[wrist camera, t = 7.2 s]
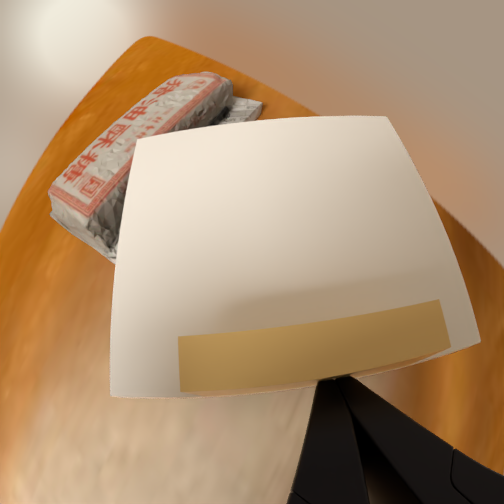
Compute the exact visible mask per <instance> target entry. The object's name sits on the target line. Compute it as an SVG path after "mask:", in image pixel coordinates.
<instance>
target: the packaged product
mask: <svg viewBox="0 0 504 504" xmlns="http://www.w3.org/2000/svg"><path fill="white" fill-rule="evenodd" d="M262 104H263V103H262V102H258V101H254V100H250V99H244V98H239V97H235V96H233V84H232V82H231V80H228V79H226V78H224V77H221V76H219V75H218V74H215V73H212V72H201V73H193V74H188V75H187V74H186V75H184V74H183V75H179V76H175V77H172V78H170V79H168V80H167V81H166V82H165V83H163V84H162V85H160V86H159V87H157V88H156V89H155V90H153V91H152V92H151V93H150V94H149V95H148V96H146V97H145V98H143V99H142V100H141V101H140V102H138V103H137V104H136V105H135V106H133V107H132V108H131V109H130V110H129V111H127V112H126V113H125V114H124V115H123V116H122V117H120V118H119V119H118V120H117V121H116V122H114V123H113V124H112V125H111V126H110V127H109V128H108V129H107V130H106V131H105V132H103V133H102V134H101V135H100V136H99V137H98V138H97V139H96V140H95V141H93V142H92V144H90V145H89V146H88V147H87V148H86V149H85V150H84V151H83V152H82V153H81V154H80V155H79V157H78V158H76V159H75V160H74V161H73V162H72V163H71V164H70V165H69V167H68V168H67V169H66V170H64V172H63V173H62V174H61V175H60V176H59V177H57V178H56V180H55V181H54V182H53V184H52V185H51V187H50V188H49V190H48V195H49V197H50V199H51V201H52V203H51V204H52V209H53V210H52V212H51V213H50V216H51V217H52V218H53V219H54V220H56V221H57V222H58V223H59V224H60V225H62V226H63V227H64V228H65V229H66V230H68V231H69V232H70V233H71V234H73V235H74V236H76V237H77V238H79V239H81V240H82V241H84V242H85V243H87V244H88V245H90V246H92V247H93V248H94V249H96V250H97V251H98V252H99V253H101V254H102V255H103V256H105V257H106V258H107V259H109V260H110V261H111V262H112V263H114V264H115V265H116V257H117V249H118V241H119V234H120V227H121V220H122V214H123V207H124V202H125V196H126V190H127V185H128V180H129V175H130V170H131V165H132V160H133V156H134V151H135V147H136V143H137V139H141V138H146V137H150V136H155V135H161V134H166V133H171V132H177V131H183V130H189V129H195V128H201V127H208V126H215V125H223V124H231V123H239V122H248V121H255V120H256V119H257V118H258V117H259V115H260V114H261V110H262Z"/></svg>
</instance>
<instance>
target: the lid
mask: <svg viewBox="0 0 504 504" xmlns="http://www.w3.org/2000/svg"><path fill="white" fill-rule="evenodd" d="M480 342H481V340H480V335H479V331H478V327H477V323H476V320H475V316H474V312H473V309H472V305H471V302H470V298H469V295H468V292H467V289H466V285H465V282H464V279H463V276H462V273H461V270H460V268H459V265H458V262H457V259H456V256H455V254H454V251H453V248H452V246H451V243H450V241H449V238H448V236H447V233H446V231H445V228H444V226H443V224H442V221H441V219H440V217H439V214H438V212H437V210H436V208H435V205H434V203H433V201H432V199H431V197H430V195H429V193H428V190H427V189H426V186H425V184H424V182H423V180H422V178H421V176H420V174H419V172H418V171H417V169H416V167H415V165H414V163H413V161H412V159H411V158H410V155H409V154H408V152H407V150H406V148H405V147H404V145H403V143H402V141H401V140H400V138H399V136H398V134H397V133H396V131H395V129H394V128H393V126H392V124H391V123H390V121H389V120H388V118H387V117H386V116H319V117H297V118H282V119H269V120H258V121H248V122H239V123H231V124H223V125H215V126H208V127H201V128H195V129H189V130H183V131H177V132H171V133H166V134H161V135H155V136H150V137H146V138H141V139H137V143H136V147H135V151H134V156H133V160H132V165H131V170H130V175H129V180H128V185H127V190H126V196H125V202H124V207H123V214H122V220H121V227H120V234H119V241H118V249H117V257H116V266H115V276H114V287H113V299H112V314H111V336H110V396H114V397H121V398H152V399H174V398H207V397H225V396H238V395H250V394H260V393H269V392H278V391H286V390H293V389H300V388H307V387H313V386H316V385H317V382H318V381H322V380H328V379H334V380H335V379H336V378H340V377H345V376H352V377H354V378H355V379H357V378H361V377H366V376H371V375H375V374H379V373H384V372H388V371H392V370H396V369H400V368H403V367H407V366H411V365H414V364H418V363H421V362H425V361H428V360H432V359H435V358H438V357H441V356H445V355H448V354H451V353H454V352H457V351H460V350H463V349H465V348H468V347H471V346H473V345H475V344H477V343H480Z"/></svg>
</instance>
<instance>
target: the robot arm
mask: <svg viewBox="0 0 504 504" xmlns="http://www.w3.org/2000/svg"><path fill="white" fill-rule="evenodd" d="M286 504H504V476H503V475H501V474H499V473H497V472H495V471H493V470H491V469H489V468H487V467H485V466H483V465H481V464H480V463H478V462H476V461H475V460H473V459H471V458H470V457H468V456H467V455H465V454H463V453H462V452H460V451H459V450H457V449H454V450H453V446H451V445H450V444H448V443H447V442H445V441H444V440H442V439H441V438H439V437H438V436H436V435H435V434H433V433H432V432H430V431H429V430H427V429H426V428H424V427H423V426H421V425H420V424H418V423H417V422H416V421H414V420H413V419H411V418H410V417H408V416H407V415H405V414H404V413H403V412H401V411H400V410H398V409H397V408H396V407H394V406H393V405H391V404H390V403H388V402H387V401H386V400H384V399H383V398H381V397H380V396H379V395H377V394H376V393H374V392H373V391H372V390H370V389H369V388H367V387H366V386H365V385H363V384H362V383H361V382H359V381H358V380H356V379H355V378H354V377H352V376H345V377H340V378H336V379H335V380H334V379H328V380H322V381H318V382H317V385H316V390H315V395H314V399H313V404H312V409H311V413H310V418H309V422H308V426H307V430H306V435H305V439H304V443H303V447H302V451H301V455H300V458H299V462H298V466H297V470H296V473H295V477H294V480H293V484H292V487H291V493H290V494H289V497H288V500H287V503H286Z"/></svg>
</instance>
